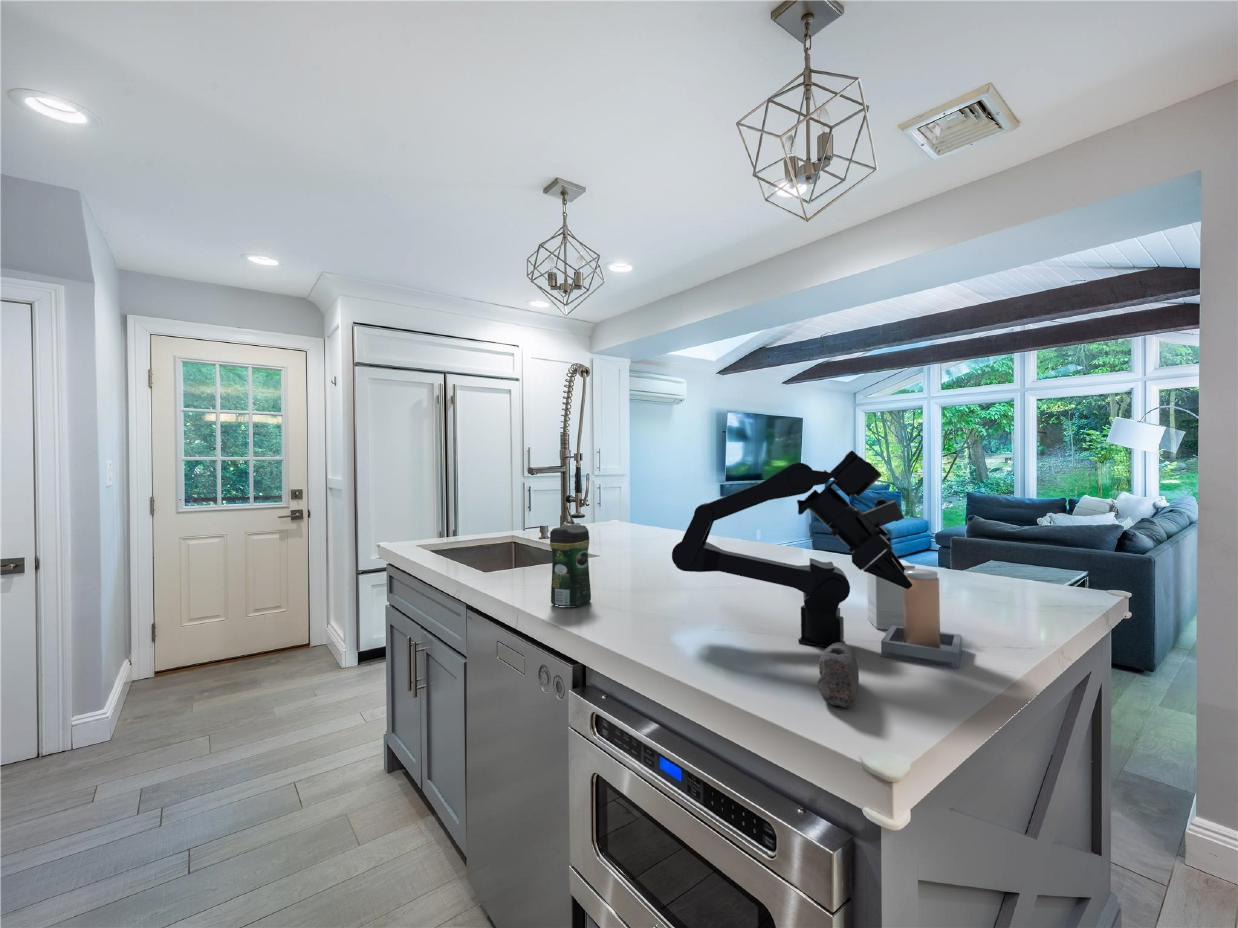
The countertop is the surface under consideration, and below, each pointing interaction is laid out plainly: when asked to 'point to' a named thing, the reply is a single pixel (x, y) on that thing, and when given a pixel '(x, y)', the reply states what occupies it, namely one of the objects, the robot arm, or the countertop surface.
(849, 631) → the countertop surface
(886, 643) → the tray
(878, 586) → the supplement box
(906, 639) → the shaker
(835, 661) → the perforated stone tool
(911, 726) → the countertop surface
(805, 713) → the countertop surface
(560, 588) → the coffee jar
